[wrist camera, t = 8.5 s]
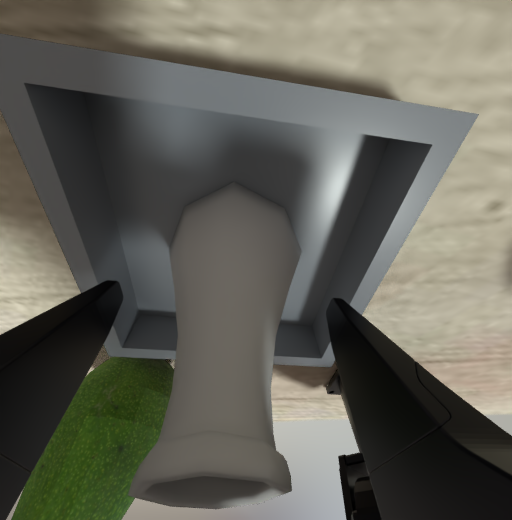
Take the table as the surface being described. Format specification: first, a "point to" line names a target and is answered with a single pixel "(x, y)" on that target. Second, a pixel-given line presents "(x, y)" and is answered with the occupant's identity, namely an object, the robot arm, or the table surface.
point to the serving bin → (217, 177)
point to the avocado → (100, 443)
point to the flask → (223, 355)
